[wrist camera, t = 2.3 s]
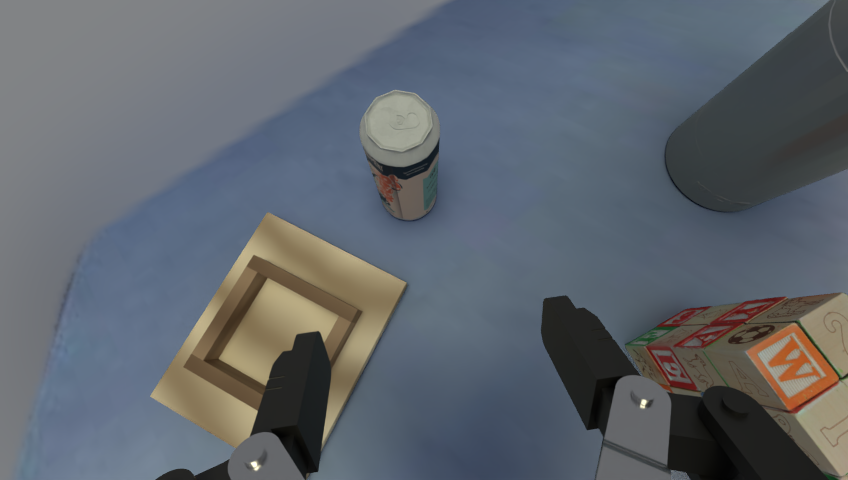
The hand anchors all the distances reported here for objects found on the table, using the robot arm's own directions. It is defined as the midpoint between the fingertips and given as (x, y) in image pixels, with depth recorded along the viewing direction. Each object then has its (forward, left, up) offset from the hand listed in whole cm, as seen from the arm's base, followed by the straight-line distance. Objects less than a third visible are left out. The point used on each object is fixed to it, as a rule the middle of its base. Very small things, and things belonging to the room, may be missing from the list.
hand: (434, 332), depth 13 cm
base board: (+5, -10, -17) cm, 21 cm away
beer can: (-10, -7, -17) cm, 21 cm away
